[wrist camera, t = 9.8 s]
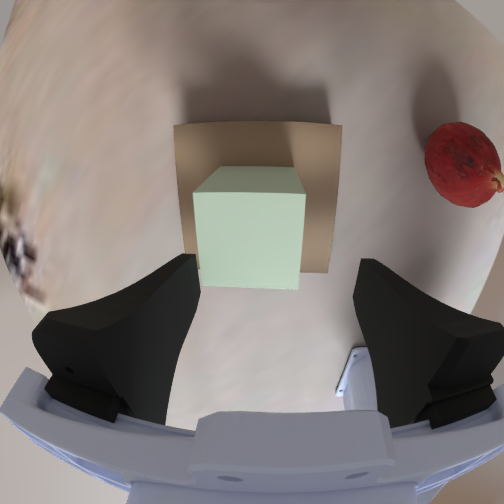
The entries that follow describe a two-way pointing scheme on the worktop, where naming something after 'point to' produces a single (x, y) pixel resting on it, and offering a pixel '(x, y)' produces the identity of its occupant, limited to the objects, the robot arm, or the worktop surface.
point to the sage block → (250, 227)
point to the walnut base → (265, 154)
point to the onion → (463, 164)
